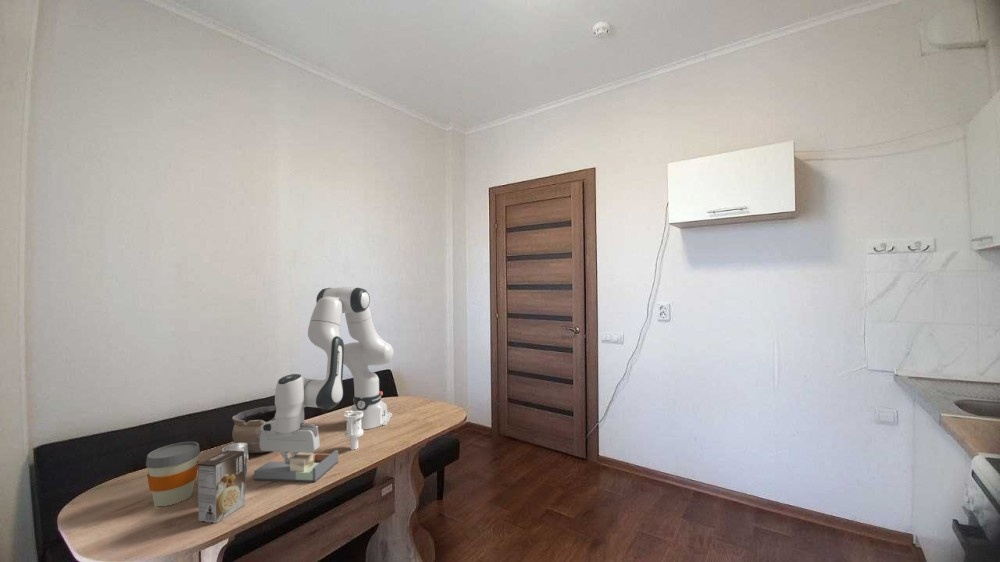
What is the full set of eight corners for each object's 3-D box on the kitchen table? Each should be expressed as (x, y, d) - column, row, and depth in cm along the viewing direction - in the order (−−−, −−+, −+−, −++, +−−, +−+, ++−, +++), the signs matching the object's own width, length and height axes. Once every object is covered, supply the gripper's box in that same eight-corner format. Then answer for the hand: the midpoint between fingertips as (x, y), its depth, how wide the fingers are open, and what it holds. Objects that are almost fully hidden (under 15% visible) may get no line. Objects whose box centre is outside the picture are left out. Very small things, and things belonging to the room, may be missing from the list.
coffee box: (227, 502, 111) (227, 449, 111) (245, 504, 110) (245, 450, 110) (197, 521, 102) (197, 463, 102) (216, 524, 101) (216, 465, 101)
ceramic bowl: (224, 465, 135) (224, 424, 135) (238, 443, 155) (238, 407, 155) (293, 453, 144) (293, 415, 145) (298, 434, 164) (298, 400, 164)
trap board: (282, 460, 138) (282, 448, 138) (338, 462, 136) (338, 450, 136) (254, 480, 124) (254, 466, 124) (315, 482, 122) (315, 468, 122)
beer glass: (224, 492, 117) (224, 444, 117) (250, 487, 120) (250, 440, 120) (218, 503, 111) (218, 453, 111) (245, 498, 113) (245, 448, 114)
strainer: (349, 444, 151) (349, 408, 152) (366, 444, 151) (366, 408, 152) (341, 452, 144) (341, 413, 145) (359, 452, 144) (358, 413, 145)
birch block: (299, 464, 129) (299, 452, 129) (313, 464, 128) (313, 453, 128) (290, 471, 124) (290, 459, 124) (303, 471, 123) (303, 459, 123)
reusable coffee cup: (172, 487, 120) (172, 441, 121) (210, 487, 120) (210, 441, 120) (133, 510, 108) (133, 459, 108) (174, 510, 107) (174, 458, 108)
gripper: (323, 420, 129) (323, 460, 129) (269, 419, 131) (269, 458, 131) (312, 427, 123) (312, 469, 122) (256, 425, 125) (256, 466, 125)
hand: (289, 463), depth 127 cm, fingers closed
